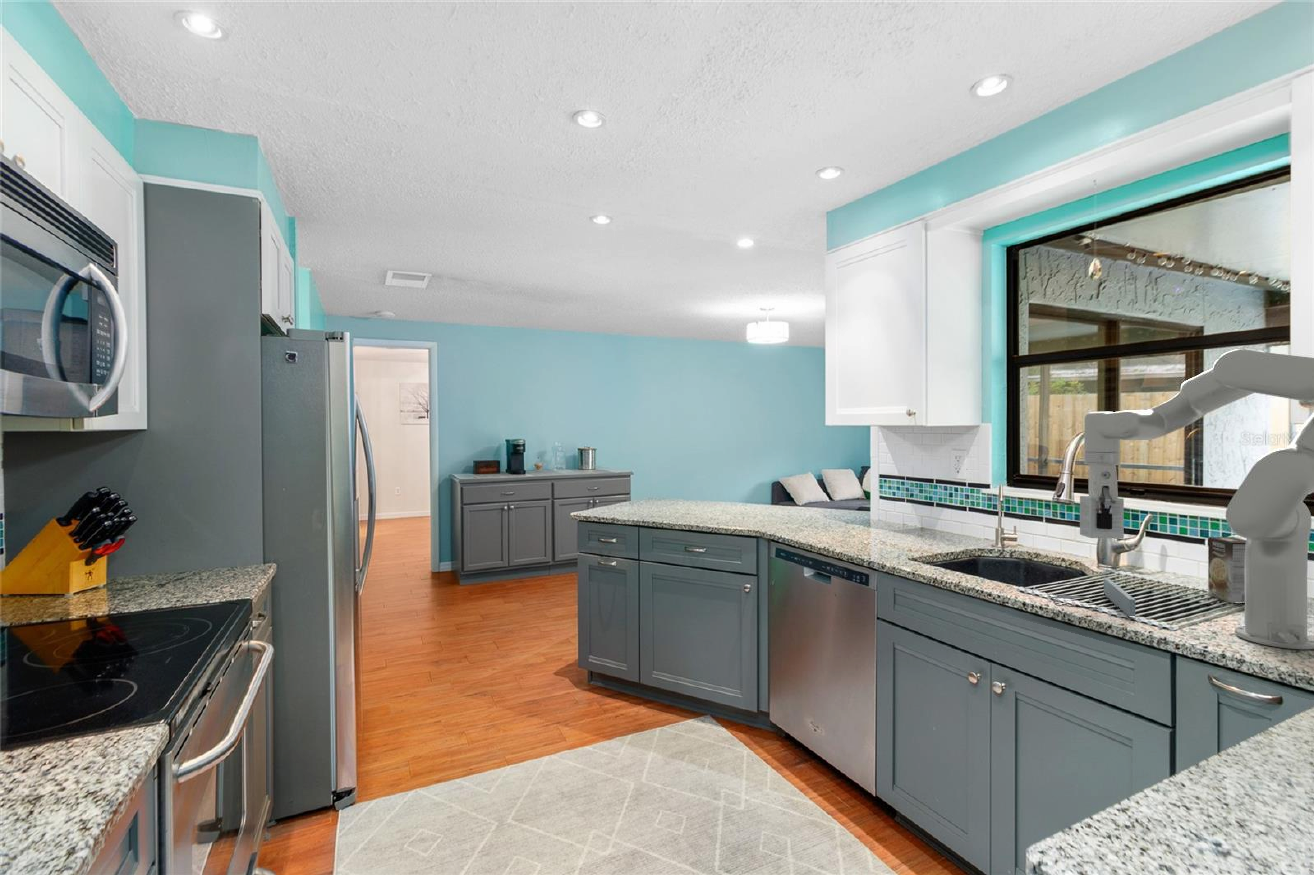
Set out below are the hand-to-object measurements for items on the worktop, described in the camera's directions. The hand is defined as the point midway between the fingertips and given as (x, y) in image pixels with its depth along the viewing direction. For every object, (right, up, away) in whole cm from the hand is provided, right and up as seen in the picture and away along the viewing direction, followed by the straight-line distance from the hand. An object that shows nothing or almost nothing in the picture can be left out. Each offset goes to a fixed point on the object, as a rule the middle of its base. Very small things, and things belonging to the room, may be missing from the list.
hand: (1101, 526), depth 163 cm
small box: (0, -3, 0) cm, 3 cm away
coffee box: (+36, -20, +2) cm, 41 cm away
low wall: (+2, -20, -3) cm, 20 cm away
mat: (-7, -20, +1) cm, 21 cm away
